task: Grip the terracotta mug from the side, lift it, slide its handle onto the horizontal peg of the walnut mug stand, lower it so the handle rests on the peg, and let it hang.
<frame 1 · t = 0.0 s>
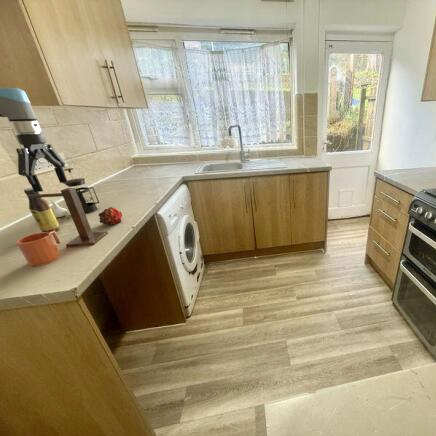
hand: (52, 186, 102), 20 cm above the countertop, tool pointing down, fingers open, 13 cm apart
french press: (88, 211, 131), on the countertop
sauce bottle: (52, 231, 109), on the countertop
garlic bulb: (61, 216, 126), on the countertop
mug stand: (88, 240, 100), on the countertop
mug: (44, 259, 87), on the countertop
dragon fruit: (113, 223, 115), on the countertop
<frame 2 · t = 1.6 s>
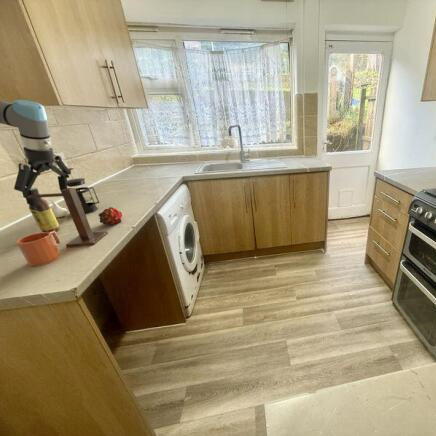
hand: (48, 197, 99), 17 cm above the countertop, tool tilted 20°, fingers open, 13 cm apart
nothing on the countertop moved.
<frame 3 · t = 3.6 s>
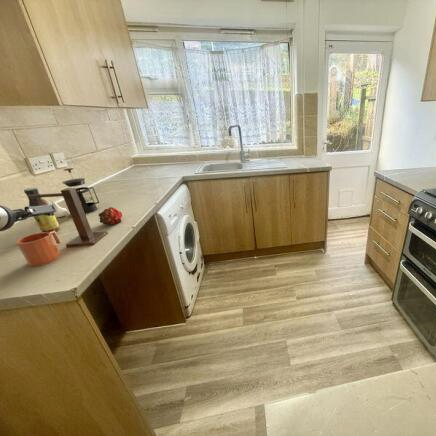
hand: (26, 218, 84), 15 cm above the countertop, tool tilted 70°, fingers open, 13 cm apart
nothing on the countertop moved.
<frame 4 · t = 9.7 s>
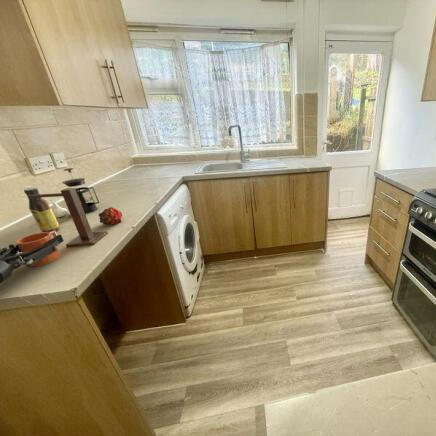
hand: (47, 238, 89), 6 cm above the countertop, tool horizontal, fingers closed on mug, 8 cm apart
mug: (44, 259, 87), on the countertop, touching gripper
everything else where it was.
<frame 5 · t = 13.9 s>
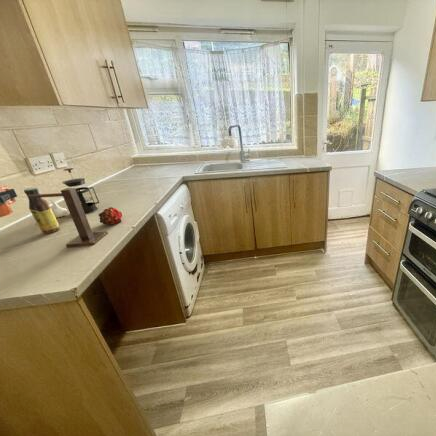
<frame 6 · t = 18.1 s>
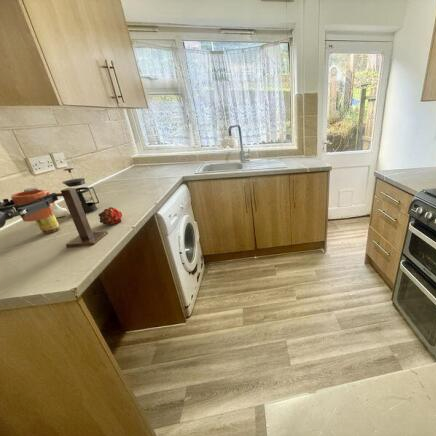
hand: (42, 197, 90), 20 cm above the countertop, tool horizontal, fingers closed on mug, 8 cm apart
mug: (39, 216, 88), point 14 cm above the countertop, touching gripper, mug stand
everything else where it was.
when the fingers open (20 cm above the countertop, at t = 18.4 s): mug moves 14 cm and tips over, resting on mug stand.
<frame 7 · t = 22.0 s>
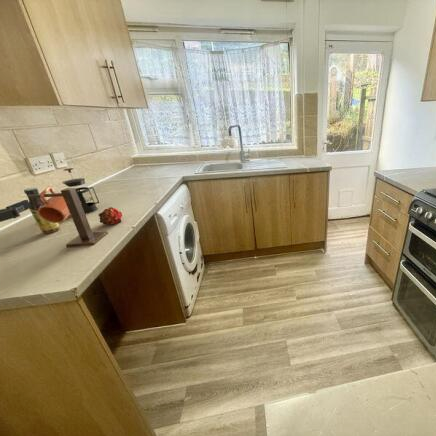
hand: (4, 205, 76), 22 cm above the countertop, tool horizontal, fingers open, 13 cm apart
mug: (65, 201, 100), point 15 cm above the countertop, tilted 106°, touching mug stand
everything else where it was.
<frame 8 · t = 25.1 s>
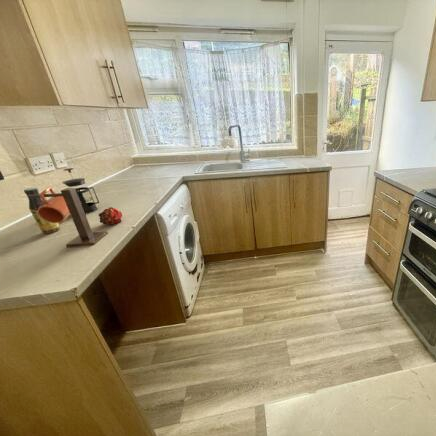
nothing on the countertop moved.
at the end: mug touching mug stand; mug inside the target area on the mug stand (2.4 cm from its centre), point 11.5 cm above the mug stand's base; the gripper is holding nothing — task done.
